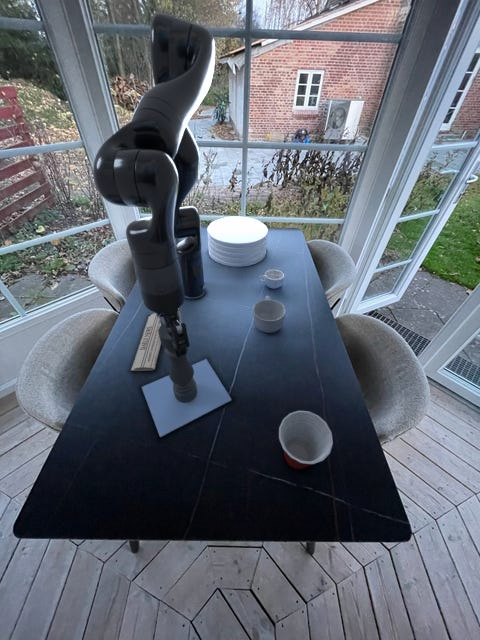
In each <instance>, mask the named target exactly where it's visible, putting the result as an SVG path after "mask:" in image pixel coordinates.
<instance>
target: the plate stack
mask: <svg viewBox="0 0 480 640" xmlns="http://www.w3.org/2000/svg"><path fill="white" fill-rule="evenodd" d="M206 230H207V231H206V232H207V243H208V245H207V246H208V255H209V256H210V258H211V259H212V260H213V261H215V262H217V263H218V264H220V265H224V266H227V267H237V268H239V267H240V268H241V267H249V266H253V265H255V264H258V263H260V262H261V261H262V260H263V259H265V257H266V255H267V246H268V245H267V244H268V234H269V229H268V227H267V225H266V224H265V223H263V222H261V221H260V220H258V219H255V218H251V217H247V216H226V217H221V218H218V219H216V220H213V221H211V223H209V225H208V226H207V228H206Z"/></svg>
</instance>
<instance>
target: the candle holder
mask: <svg viewBox="0 0 480 640" xmlns="http://www.w3.org/2000/svg"><path fill="white" fill-rule="evenodd" d="M168 329H169V331H171V328H168ZM158 334H159V337H160V341H161V346H162V347H163V348H164V354H165V355H166V357H167V358H168V359H169V361H170V362H169V371H168V375H169V377H170V379H171V380H172V382H173V391H174V395H175V398H176V399H177V400H178V401H179V402H182V403H187V402H190V401H192V400H194V398H195V397H196V395H197V387H196V382H195V380H194V378H193V375H194V370H193V367H192V365H193V364H192V363H191V361H190V360H189V359H188V357H187V353H186V354H185V355H183V356H181V357H177V356H176V354H175V349H174V346H173V344H172V343H173V342H172V340H171V337H170V336H168V335H167V334H166V331H165V328H164V325H163V324H162V325H161V326H160V328H159V330H158ZM186 350H187V351H188V350H189V347H187V348H186Z"/></svg>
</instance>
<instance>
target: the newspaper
mask: <svg viewBox="0 0 480 640" xmlns="http://www.w3.org/2000/svg"><path fill="white" fill-rule="evenodd" d="M160 326H161V322H160V318H159V317H157V315H156V312H153V313H152V314H150V315H149V316H148V318H147V320H146V324H145V326H144V329H143V332H142V336H141V339H140V341H139V345H138V348H137V351H136V354H135V357H134V360H133V363H132V366H131V369H130V371H131V372H132V371H135V372H136V371H137V372H151V371H152V372H153V371H155V370H156V366H157V362H158V358H159V354H160V350H161V346H162V344H161V341H160V337H159V334H158V330H159V328H160Z"/></svg>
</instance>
